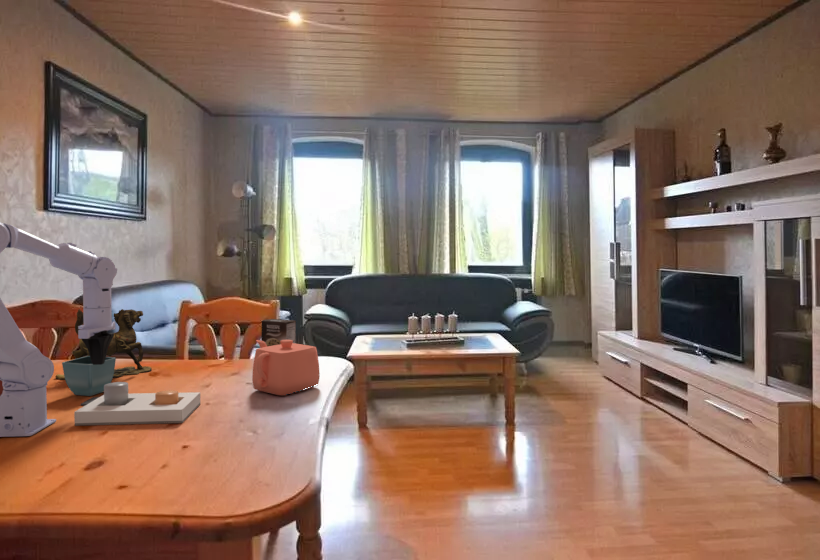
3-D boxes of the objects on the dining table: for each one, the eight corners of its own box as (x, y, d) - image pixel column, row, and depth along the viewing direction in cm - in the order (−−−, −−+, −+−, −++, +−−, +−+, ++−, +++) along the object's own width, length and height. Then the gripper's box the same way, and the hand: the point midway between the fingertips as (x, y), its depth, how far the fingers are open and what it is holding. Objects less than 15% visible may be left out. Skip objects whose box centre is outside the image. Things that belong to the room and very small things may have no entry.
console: (182, 423, 112) (182, 409, 112) (74, 425, 109) (74, 411, 109) (200, 404, 126) (200, 392, 126) (105, 406, 123) (105, 393, 123)
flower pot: (90, 399, 129) (90, 364, 128) (61, 396, 130) (60, 362, 130) (117, 390, 137) (116, 357, 137) (89, 388, 139) (88, 355, 139)
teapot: (283, 376, 156) (283, 331, 156) (329, 386, 145) (329, 338, 145) (226, 389, 140) (226, 339, 139) (273, 402, 129) (273, 348, 128)
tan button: (174, 413, 116) (174, 395, 116) (152, 413, 116) (152, 396, 115) (181, 407, 121) (181, 390, 121) (159, 407, 120) (159, 390, 120)
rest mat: (107, 405, 124) (107, 403, 124) (80, 405, 123) (80, 403, 123) (118, 398, 130) (118, 396, 130) (92, 398, 129) (92, 397, 129)
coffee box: (260, 371, 163) (260, 320, 162) (271, 366, 169) (271, 318, 168) (285, 373, 160) (285, 322, 159) (296, 369, 166) (296, 319, 165)
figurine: (152, 375, 155) (151, 308, 154) (52, 383, 143) (51, 311, 142) (151, 366, 166) (150, 304, 165) (58, 374, 155) (57, 307, 154)
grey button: (123, 404, 115) (122, 387, 114) (100, 405, 114) (99, 387, 114) (131, 398, 119) (131, 381, 119) (110, 399, 119) (109, 382, 119)
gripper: (93, 304, 128) (94, 358, 128) (63, 310, 113) (64, 371, 114) (123, 304, 129) (124, 357, 129) (97, 310, 114) (98, 370, 115)
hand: (98, 364), depth 122 cm, fingers closed
